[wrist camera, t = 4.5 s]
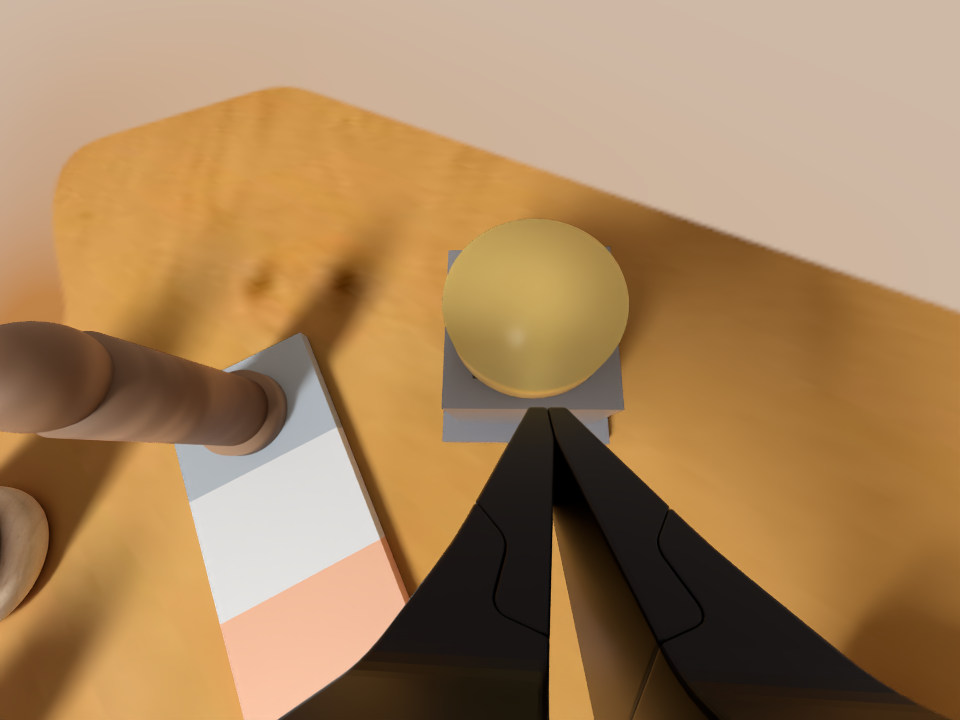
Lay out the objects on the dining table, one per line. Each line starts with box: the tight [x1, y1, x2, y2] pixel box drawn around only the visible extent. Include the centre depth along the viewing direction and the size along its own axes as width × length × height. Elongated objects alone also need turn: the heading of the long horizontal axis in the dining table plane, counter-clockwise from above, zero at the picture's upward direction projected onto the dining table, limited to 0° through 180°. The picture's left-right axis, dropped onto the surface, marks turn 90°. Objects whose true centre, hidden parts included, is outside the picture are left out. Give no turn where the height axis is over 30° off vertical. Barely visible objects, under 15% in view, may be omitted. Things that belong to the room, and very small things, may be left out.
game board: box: [175, 333, 410, 720], centre depth 20 cm, size 20×9×1 cm, turn 27°
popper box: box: [442, 246, 624, 444], centre depth 18 cm, size 9×9×7 cm
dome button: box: [442, 219, 629, 399], centre depth 16 cm, size 6×6×7 cm
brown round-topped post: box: [0, 321, 288, 456], centre depth 16 cm, size 5×5×12 cm
